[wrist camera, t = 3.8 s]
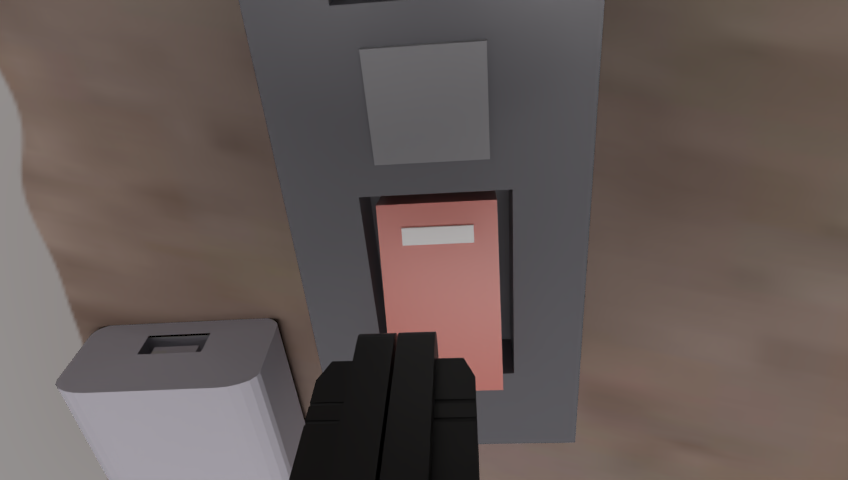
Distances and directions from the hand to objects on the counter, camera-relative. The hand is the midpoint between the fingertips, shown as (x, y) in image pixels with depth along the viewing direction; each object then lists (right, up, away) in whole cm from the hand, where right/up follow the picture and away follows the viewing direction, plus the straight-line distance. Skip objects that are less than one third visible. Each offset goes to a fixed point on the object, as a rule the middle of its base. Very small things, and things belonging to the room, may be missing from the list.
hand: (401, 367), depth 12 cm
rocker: (+1, +1, +10) cm, 10 cm away
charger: (-10, -8, +22) cm, 26 cm away
